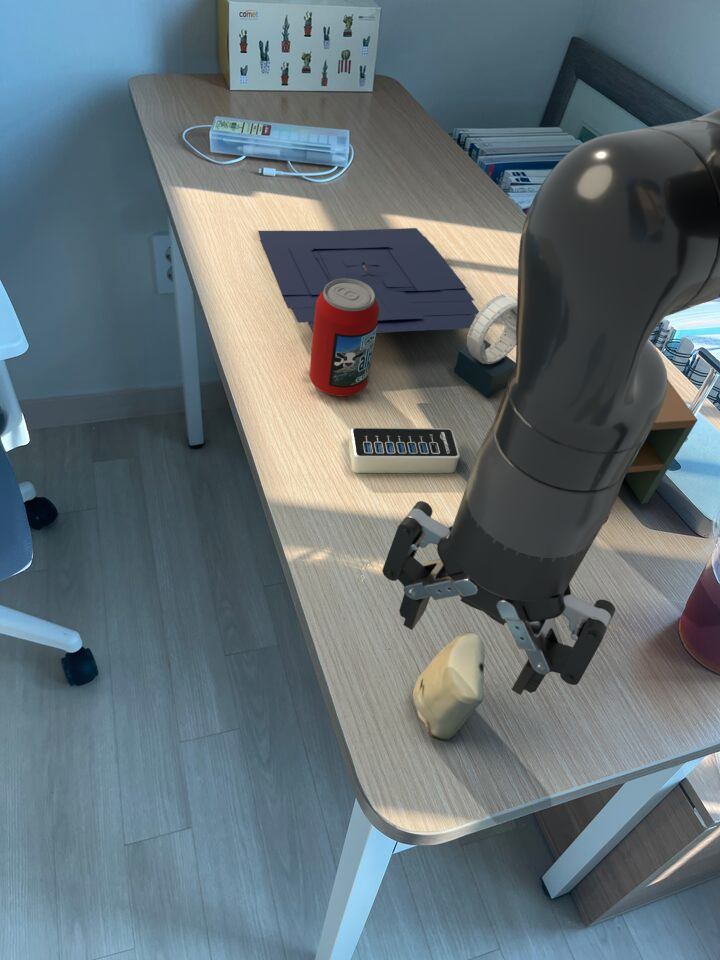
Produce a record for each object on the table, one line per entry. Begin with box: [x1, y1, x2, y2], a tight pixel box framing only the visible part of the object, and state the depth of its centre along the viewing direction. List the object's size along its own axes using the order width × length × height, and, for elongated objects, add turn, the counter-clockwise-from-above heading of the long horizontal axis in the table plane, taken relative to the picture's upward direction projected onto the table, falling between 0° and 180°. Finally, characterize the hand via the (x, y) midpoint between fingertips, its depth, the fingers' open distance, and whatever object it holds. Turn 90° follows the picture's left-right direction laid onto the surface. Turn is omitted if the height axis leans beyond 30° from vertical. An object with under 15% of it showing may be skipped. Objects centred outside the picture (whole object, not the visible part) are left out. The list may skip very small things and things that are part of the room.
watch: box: [453, 293, 517, 398], centre depth 87 cm, size 6×8×11 cm
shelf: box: [624, 379, 698, 505], centre depth 78 cm, size 11×9×12 cm
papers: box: [257, 227, 480, 334], centre depth 99 cm, size 24×30×4 cm
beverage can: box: [309, 279, 379, 397], centre depth 83 cm, size 7×7×12 cm
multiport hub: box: [348, 427, 460, 474], centre depth 79 cm, size 4×11×2 cm, turn 97°
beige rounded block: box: [412, 631, 486, 742], centre depth 58 cm, size 6×5×8 cm
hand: (466, 650), depth 53 cm, fingers open, 8 cm apart
